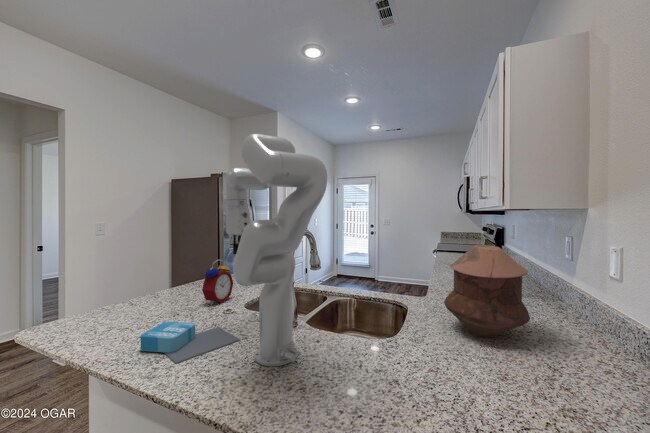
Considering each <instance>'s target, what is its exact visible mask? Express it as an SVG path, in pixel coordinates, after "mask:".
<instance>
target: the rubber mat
mask: <svg viewBox="0 0 650 433" xmlns="http://www.w3.org/2000/svg"><path fill="white" fill-rule="evenodd" d="M240 341H241V339H240V338H239V337H237V336H235V335H234V334H232V333H230V332H228V331H226V330H225V329H224V328H221V327H220V326H217V327H214V328H211V329H207V330H204V331H201V332H199V333H195V338H194V339H192V340H191V341H190V342H188V343H187V344H186V345H184V346H183V347H181V348H180V349H179V350H177V351H176V352H172V353H165V352H163V353H164V355H165V356H167V357H168V358H169V360H171V361H172V363H174V365H177V364H180V363H183V362H185V361H188V360H190V359H194V358H196V357H199V356H202V355H204V354H207V353H209V352H213V351H215V350H219V349H220V348H223V346H224V347H226V346H229V345H231V344H234V343H237V342H240Z"/></svg>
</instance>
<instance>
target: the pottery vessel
mask: <svg viewBox="0 0 650 433" xmlns="http://www.w3.org/2000/svg"><path fill="white" fill-rule="evenodd" d="M449 267H450V268H451V269H452V270H453V290H452V291H451V292H450V293H448V295H447V296H446V297H445V299H444V302H443V303H444V306H445V308H446V309H447V311H449V312H450V313H451V314H452V315H453V316H454V317H455V318H457V320H458V321H459V322H460V323H461V324H463V325H464V327H465V328H466V329H467V331H468V332H469V333H471V334H473V335H475V336H478V337H483V338H495V337H497V336H499V334H502V333H504V332H507V331H510V330H513V329H516V328H519V327H521V326H522V327H523V326H524V325H526V324H528V323H529V322H530V318H531V316H530V313H529V311H528V309H527V306H526V305H525V304H524V302H523V301H522V299H523V293H522V292H523V277H525V276H526V275H527V274H528V269H527V268H525V267H523V266H522V265H521V264H519V263H518V262H517V261H516V260H514V259H513V258H512V257H511V256H510V255H509V254H508V253H507V252H506V251H504V250H503V248H501V247H499V246H497V245H487V244H475V245H473V246H472V247H471V248H469V249H468V250H467V251H466V252H465V253H463V255H462V256H460V257H459V258H458V259H457V260H456V261H454V262H453V263H451V264H450V265H449Z"/></svg>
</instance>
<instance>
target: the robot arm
mask: <svg viewBox="0 0 650 433" xmlns="http://www.w3.org/2000/svg"><path fill="white" fill-rule="evenodd" d="M240 152H241V158H242V161H243V163H244V164H245V165H246V167H247V168H246V167H232V168H231V169H230V171H228V172H226V174H225V184H226V185H225V189H226V190H225V191H226V192H225V195H226V216H225V217H226V218H225V231H226V232H225V233H226V234H227V235H228V238H230V239H231V242H232V254H233V255H235V257H234V261H233V267H232V268H233V269H232V270H233V272H232V274H233V277H234V278H233V279H234V280H235V282H236V283H237V284H238V285H240V286H243V287H251V286H256V285H262V284H264V285H263V287H262V289H261V291H260V293H259V299H258V300H259V301H258V305H259V306H258V309H259V310H258V312H259V319H258V320H259V347H258V348H257V349H256V350H255V352H254V356H253V357H254V360H255V362H256V363H257V364H259V365H262V366H263V367H264V366H265V367H280V366H284V365H287V364H290V363H294V362H296V360H297V358H298V356H299V355H300V351H299V349H298V347H297V346H296V345H295V341H294V340H293V283H294V276H295V272H296V271H295V269H296V258H295V256H294V252H296V251H297V250H298V248H299V247H300V245H301V242H302V240H303V239H304V236H305V233H306V231H307V229H308V226H309V224H310V222H311V219H312V217H313V215H314V213H315V211H316V210H317V208H318V206H319V205H320V203H321V202H322V200H323V199H324V196H325V193H326V190H327V185H328V172H327V167H326V165H325V164H324V162H323V161H322V160H321V159H319V158H318V157H315V156H313V155H308V154H306V153H305V154H304V153H297V151H296V148H295V146H294V144H293V142H291V141H289V140H288V139H286V138H285V137H284V138H283V137H279V136H275V135H269V134H262V133H251V134H249V135H248V136H246V137H245V139H244V140H243V142H242V145H241V151H240ZM271 187H281V188H282V187H284V188H296V189H295V190H294V191H293V192H291V193H290V194H288V196H287V197H286V198H285V199H284V200H283V201H282V203H281V204H280V205H279V206H280V207H279V209H278V211H277V215H276V216H275V217H274V218H272V219H257V220H252V221H251V214H250V210H249V208H248V204H249V203H248V199H249V198H248V191H264V190H267V189H269V188H271Z"/></svg>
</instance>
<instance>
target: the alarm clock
mask: <svg viewBox="0 0 650 433" xmlns="http://www.w3.org/2000/svg"><path fill="white" fill-rule="evenodd" d="M218 261H219V262H222V265H218V267H217V268H216V267H214V264H215V263H216V262H218ZM204 277H205V278H204V281H203V284H202V289H201V291H202V294H203V296H204V300H205V301H208V302H209V301H210V306H213V305H214V303H225V302H226V301H227V300H228V299H229V297H230V296H231V295H232V292H233V286H234V280H233V277H232V273H231V269H230V266H226V263H225V264H224V260H223V259H217V260H215V261H214V262H212V267H211V268H209V269H207V270H206V272H205V275H204Z"/></svg>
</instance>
